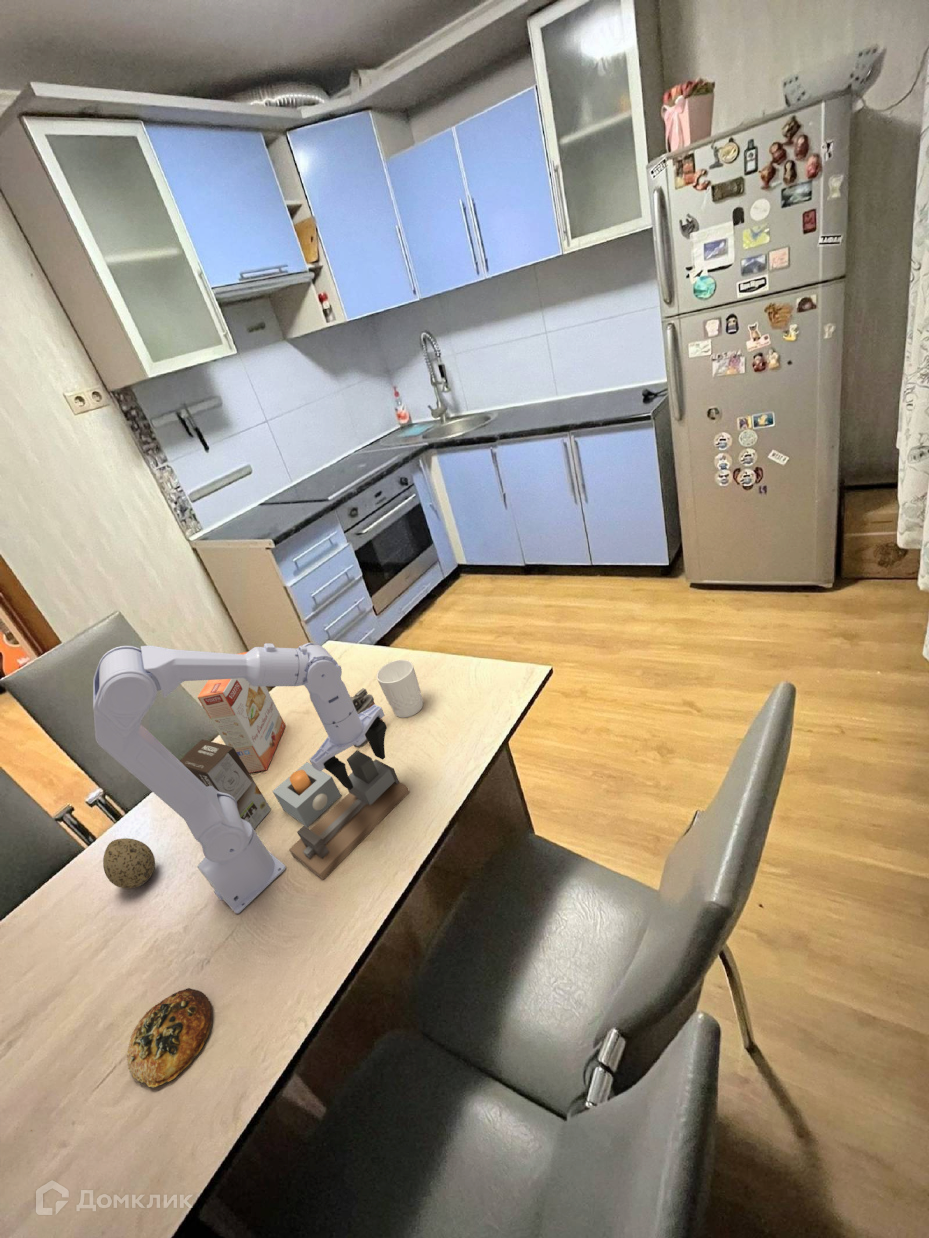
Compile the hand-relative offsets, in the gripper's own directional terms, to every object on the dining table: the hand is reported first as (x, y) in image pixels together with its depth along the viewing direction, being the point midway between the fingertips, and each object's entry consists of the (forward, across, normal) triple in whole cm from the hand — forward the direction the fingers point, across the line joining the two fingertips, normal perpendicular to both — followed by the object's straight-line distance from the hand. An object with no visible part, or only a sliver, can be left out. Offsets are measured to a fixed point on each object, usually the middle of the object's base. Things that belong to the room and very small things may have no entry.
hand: (364, 771), depth 99 cm
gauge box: (+7, -7, +11) cm, 15 cm away
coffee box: (+7, -16, +21) cm, 27 cm away
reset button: (+4, -7, +11) cm, 14 cm away
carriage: (+4, 0, 0) cm, 4 cm away
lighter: (+7, +11, +15) cm, 20 cm away
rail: (+7, -6, 0) cm, 9 cm away
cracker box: (+7, -3, +34) cm, 35 cm away
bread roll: (+7, -42, -5) cm, 43 cm away
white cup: (+7, +21, +13) cm, 26 cm away
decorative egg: (+7, -34, +26) cm, 43 cm away
